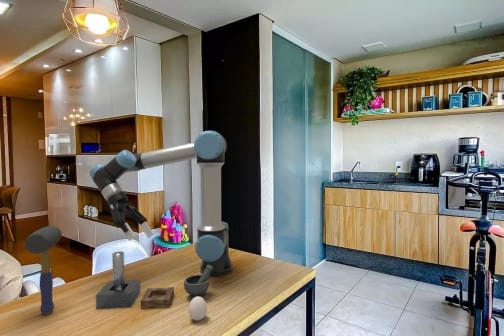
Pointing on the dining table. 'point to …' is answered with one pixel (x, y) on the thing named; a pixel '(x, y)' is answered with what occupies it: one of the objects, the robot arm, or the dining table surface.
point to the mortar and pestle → (198, 284)
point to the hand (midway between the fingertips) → (142, 237)
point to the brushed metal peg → (118, 271)
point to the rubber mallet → (44, 261)
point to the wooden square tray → (157, 298)
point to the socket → (118, 295)
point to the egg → (197, 308)
